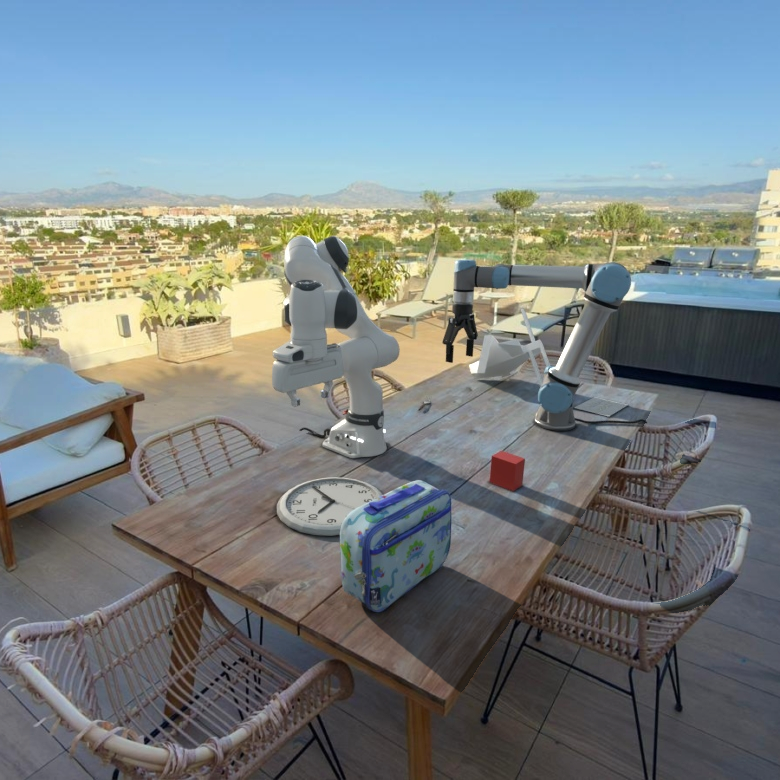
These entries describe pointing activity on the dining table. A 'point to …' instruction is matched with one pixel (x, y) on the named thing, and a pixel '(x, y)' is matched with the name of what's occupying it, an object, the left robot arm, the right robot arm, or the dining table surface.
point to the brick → (507, 470)
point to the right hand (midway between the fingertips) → (459, 359)
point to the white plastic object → (507, 356)
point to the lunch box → (394, 543)
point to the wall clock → (323, 504)
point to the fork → (425, 403)
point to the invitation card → (601, 406)
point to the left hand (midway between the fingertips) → (310, 401)
